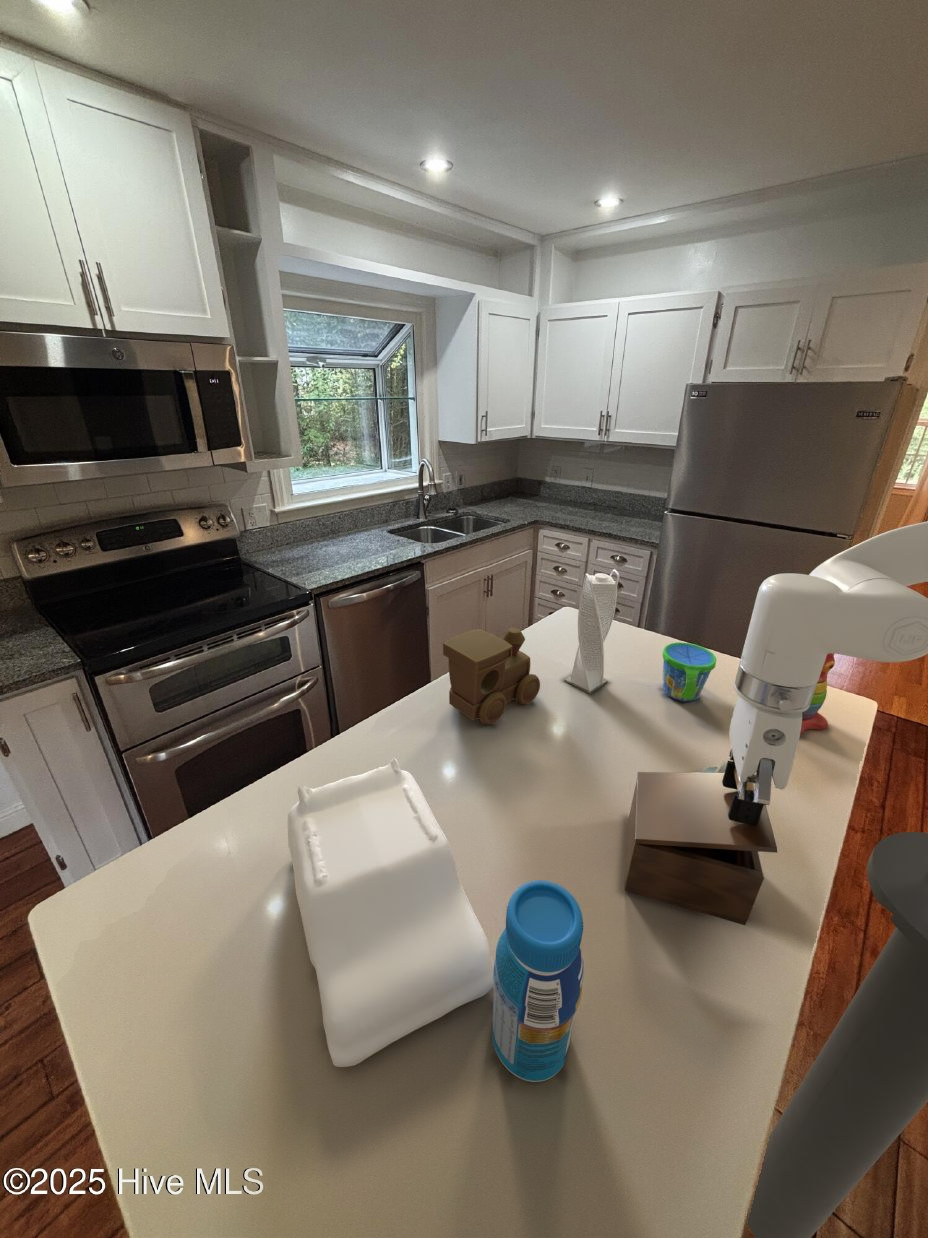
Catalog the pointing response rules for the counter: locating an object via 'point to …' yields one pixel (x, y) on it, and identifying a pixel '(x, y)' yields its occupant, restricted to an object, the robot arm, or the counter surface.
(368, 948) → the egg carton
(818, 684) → the stacking bear
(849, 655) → the robot arm
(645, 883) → the chest
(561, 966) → the beverage bottle
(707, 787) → the lid
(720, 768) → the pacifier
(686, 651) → the snack cup
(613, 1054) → the counter surface
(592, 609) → the skyscraper
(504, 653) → the wooden toy train
